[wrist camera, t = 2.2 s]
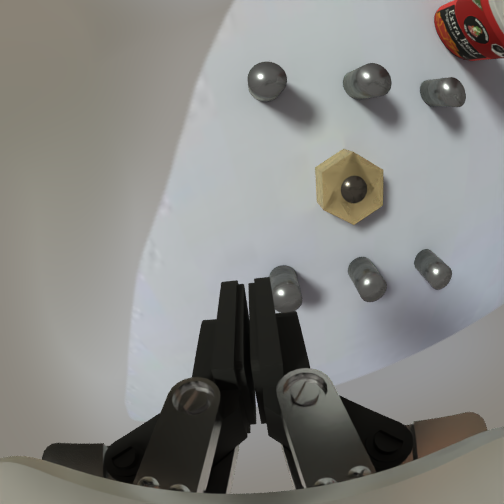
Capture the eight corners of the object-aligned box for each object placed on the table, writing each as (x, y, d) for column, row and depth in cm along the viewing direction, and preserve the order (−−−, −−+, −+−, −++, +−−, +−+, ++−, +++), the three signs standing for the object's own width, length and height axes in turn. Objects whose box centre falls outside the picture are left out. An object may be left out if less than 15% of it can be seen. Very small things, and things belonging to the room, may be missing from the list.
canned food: (420, 12, 17) (479, -14, 7) (457, 2, 15) (512, -16, 5) (454, 69, 20) (521, 64, 10) (486, 54, 18) (546, 50, 8)
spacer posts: (439, 82, 21) (464, 80, 17) (431, 269, 31) (448, 287, 27) (246, 73, 22) (245, 63, 18) (270, 290, 32) (272, 314, 28)
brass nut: (356, 139, 25) (368, 142, 22) (383, 188, 27) (396, 196, 24) (300, 177, 27) (305, 183, 24) (331, 223, 29) (339, 235, 26)
